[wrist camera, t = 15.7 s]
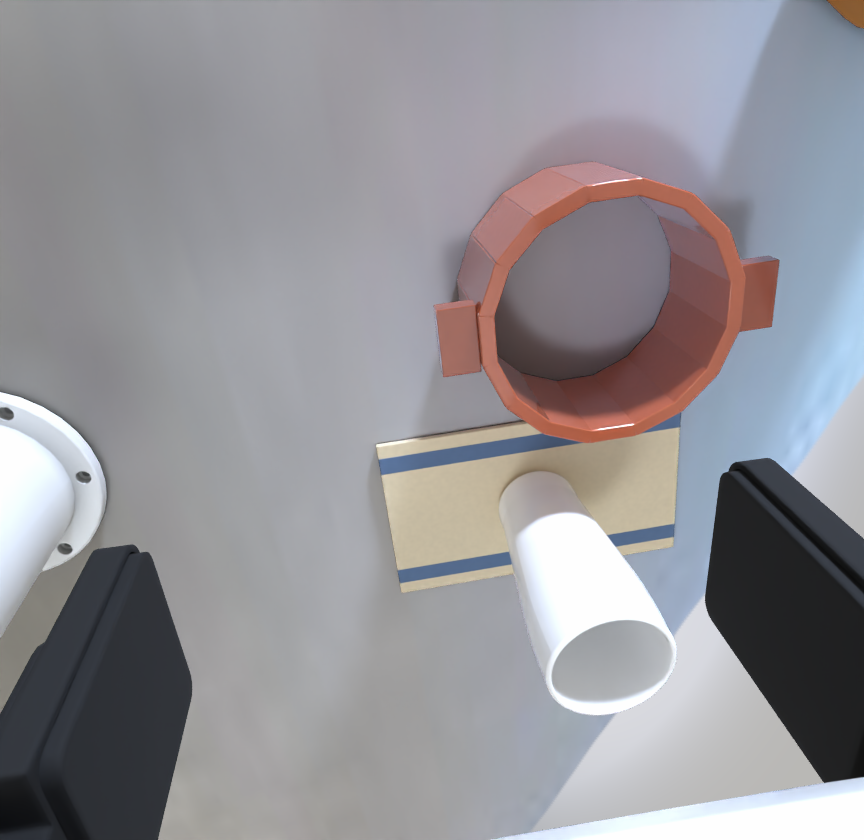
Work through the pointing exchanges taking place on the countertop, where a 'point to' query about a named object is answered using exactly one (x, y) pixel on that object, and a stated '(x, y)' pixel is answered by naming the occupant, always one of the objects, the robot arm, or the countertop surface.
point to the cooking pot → (656, 353)
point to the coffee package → (850, 10)
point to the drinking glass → (582, 601)
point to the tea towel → (494, 470)
